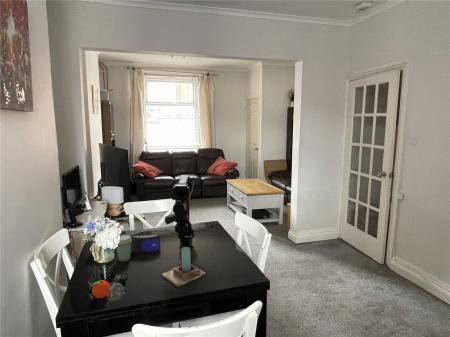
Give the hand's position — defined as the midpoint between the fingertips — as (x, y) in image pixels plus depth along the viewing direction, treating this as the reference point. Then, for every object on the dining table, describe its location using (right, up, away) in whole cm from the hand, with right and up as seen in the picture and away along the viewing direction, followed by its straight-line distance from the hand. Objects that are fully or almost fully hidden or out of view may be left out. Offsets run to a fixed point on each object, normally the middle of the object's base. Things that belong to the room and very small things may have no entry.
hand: (182, 238), depth 151 cm
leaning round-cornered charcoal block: (-23, -11, +15) cm, 29 cm away
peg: (+4, -14, -13) cm, 19 cm away
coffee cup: (-32, -13, +6) cm, 35 cm away
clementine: (-30, -18, -29) cm, 45 cm away
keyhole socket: (+3, -15, -11) cm, 19 cm away
